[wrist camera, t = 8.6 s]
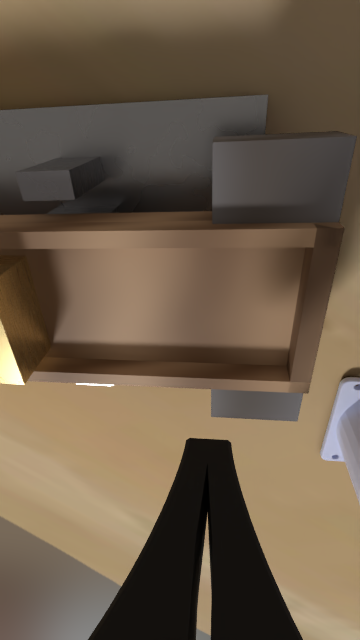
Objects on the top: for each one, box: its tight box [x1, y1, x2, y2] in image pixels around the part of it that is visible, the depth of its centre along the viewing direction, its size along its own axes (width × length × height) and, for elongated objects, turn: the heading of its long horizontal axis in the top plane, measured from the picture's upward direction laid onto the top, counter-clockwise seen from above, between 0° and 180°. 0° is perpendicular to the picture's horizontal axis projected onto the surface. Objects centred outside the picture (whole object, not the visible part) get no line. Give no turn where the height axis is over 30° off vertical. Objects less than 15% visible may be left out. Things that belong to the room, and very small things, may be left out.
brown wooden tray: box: [0, 131, 357, 421], centre depth 14 cm, size 20×12×3 cm, turn 93°
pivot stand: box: [0, 95, 268, 386], centre depth 16 cm, size 16×14×5 cm
